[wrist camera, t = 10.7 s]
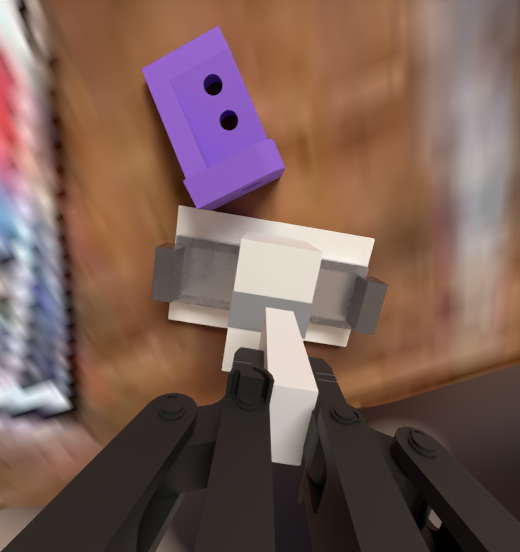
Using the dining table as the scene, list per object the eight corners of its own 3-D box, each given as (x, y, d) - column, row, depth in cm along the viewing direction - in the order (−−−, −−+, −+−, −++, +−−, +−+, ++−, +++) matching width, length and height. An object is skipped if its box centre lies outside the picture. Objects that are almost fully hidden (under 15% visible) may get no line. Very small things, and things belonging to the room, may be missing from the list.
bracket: (280, 177, 24) (287, 164, 18) (214, 210, 25) (197, 208, 18) (221, 38, 22) (203, -39, 15) (149, 78, 23) (102, 22, 16)
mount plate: (171, 315, 27) (168, 319, 26) (182, 205, 25) (178, 205, 24) (343, 342, 28) (346, 346, 27) (370, 237, 25) (374, 238, 24)
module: (231, 327, 25) (220, 371, 18) (246, 230, 23) (240, 238, 16) (285, 335, 25) (295, 382, 18) (305, 240, 23) (324, 252, 16)
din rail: (167, 294, 26) (151, 308, 22) (172, 232, 24) (156, 236, 20) (355, 324, 26) (371, 343, 22) (370, 265, 25) (390, 275, 21)
